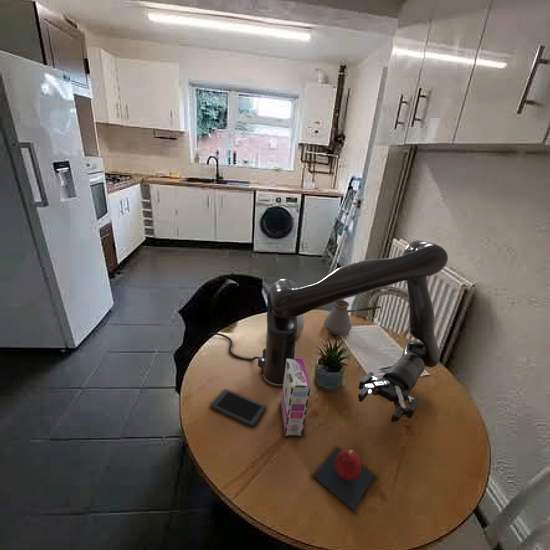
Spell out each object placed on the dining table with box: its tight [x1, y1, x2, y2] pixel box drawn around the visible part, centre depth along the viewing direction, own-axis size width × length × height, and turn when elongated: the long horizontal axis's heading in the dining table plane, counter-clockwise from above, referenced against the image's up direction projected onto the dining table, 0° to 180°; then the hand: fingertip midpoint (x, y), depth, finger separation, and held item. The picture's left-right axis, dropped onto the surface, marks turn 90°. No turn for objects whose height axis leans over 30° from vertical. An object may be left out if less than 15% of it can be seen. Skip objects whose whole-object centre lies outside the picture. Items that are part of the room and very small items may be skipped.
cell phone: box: [210, 389, 266, 427], centre depth 87 cm, size 7×14×1 cm, turn 64°
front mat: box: [313, 448, 375, 511], centre depth 71 cm, size 10×10×1 cm
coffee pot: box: [323, 299, 382, 336], centre depth 126 cm, size 21×12×15 cm, turn 71°
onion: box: [335, 449, 362, 481], centre depth 70 cm, size 6×6×8 cm
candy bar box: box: [280, 358, 312, 437], centre depth 82 cm, size 11×5×16 cm, turn 5°
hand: (376, 408), depth 75 cm, fingers open, 8 cm apart
